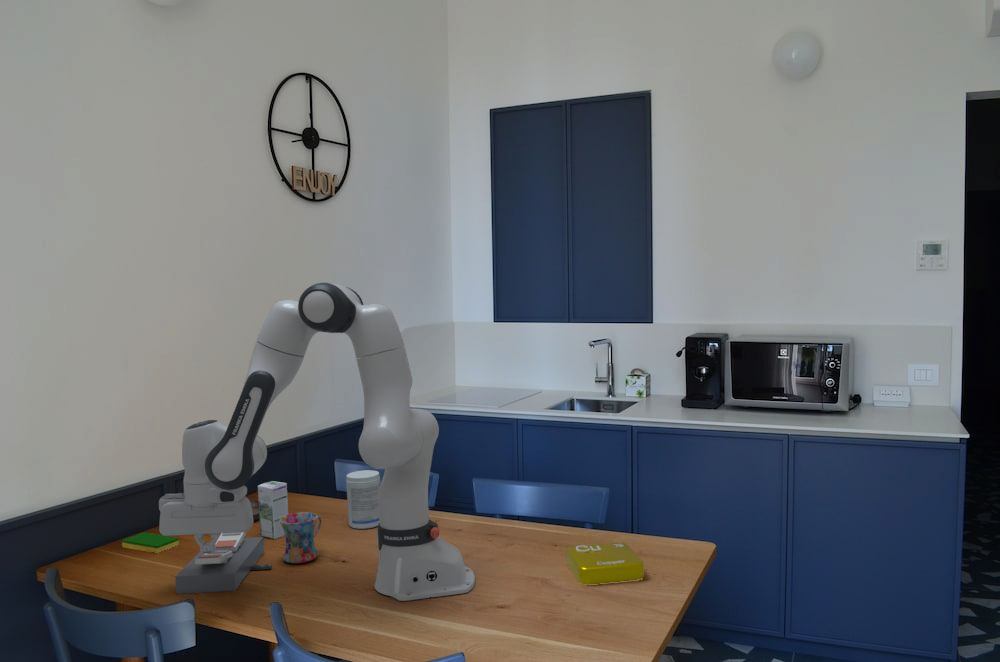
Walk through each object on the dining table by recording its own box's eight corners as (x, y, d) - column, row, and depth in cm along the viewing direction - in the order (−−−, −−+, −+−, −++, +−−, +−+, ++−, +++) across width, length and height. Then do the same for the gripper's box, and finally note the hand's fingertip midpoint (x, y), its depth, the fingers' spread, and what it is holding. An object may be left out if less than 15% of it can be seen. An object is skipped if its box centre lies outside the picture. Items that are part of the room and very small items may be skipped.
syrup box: (290, 533, 209) (288, 482, 208) (273, 540, 204) (271, 487, 204) (276, 530, 212) (273, 479, 212) (259, 537, 207) (256, 484, 207)
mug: (300, 568, 182) (297, 525, 182) (273, 562, 187) (271, 520, 187) (335, 553, 193) (333, 512, 192) (309, 547, 198) (307, 507, 197)
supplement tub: (389, 524, 215) (387, 473, 214) (361, 532, 209) (358, 479, 208) (369, 517, 222) (367, 468, 221) (341, 525, 216) (339, 474, 215)
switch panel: (284, 551, 195) (283, 536, 195) (258, 589, 170) (257, 572, 170) (212, 554, 194) (212, 539, 194) (176, 593, 169) (175, 576, 169)
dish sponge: (157, 555, 197) (157, 546, 196) (121, 548, 203) (121, 539, 203) (179, 546, 203) (179, 537, 203) (144, 540, 209) (143, 531, 209)
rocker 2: (246, 536, 193) (245, 528, 192) (236, 554, 184) (235, 545, 183) (224, 537, 192) (223, 529, 192) (213, 556, 184) (212, 547, 183)
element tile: (581, 588, 166) (580, 567, 166) (565, 564, 181) (564, 544, 181) (646, 582, 168) (646, 561, 168) (625, 559, 183) (625, 539, 183)
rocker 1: (232, 559, 180) (232, 549, 181) (220, 567, 171) (220, 556, 172) (208, 561, 180) (208, 550, 180) (195, 568, 171) (195, 557, 171)
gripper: (152, 497, 168) (156, 559, 169) (246, 494, 169) (249, 554, 170) (163, 490, 174) (167, 549, 175) (253, 486, 175) (256, 545, 176)
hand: (208, 551), depth 172 cm, fingers closed
